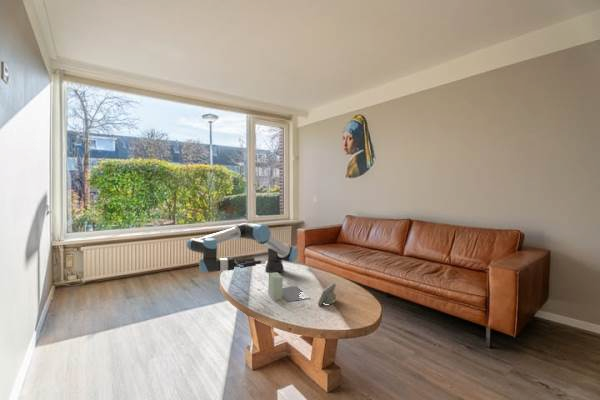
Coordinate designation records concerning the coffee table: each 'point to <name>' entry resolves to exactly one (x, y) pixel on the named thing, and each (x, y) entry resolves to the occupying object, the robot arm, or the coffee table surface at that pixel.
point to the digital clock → (327, 295)
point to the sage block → (275, 286)
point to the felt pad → (291, 293)
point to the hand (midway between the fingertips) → (264, 260)
